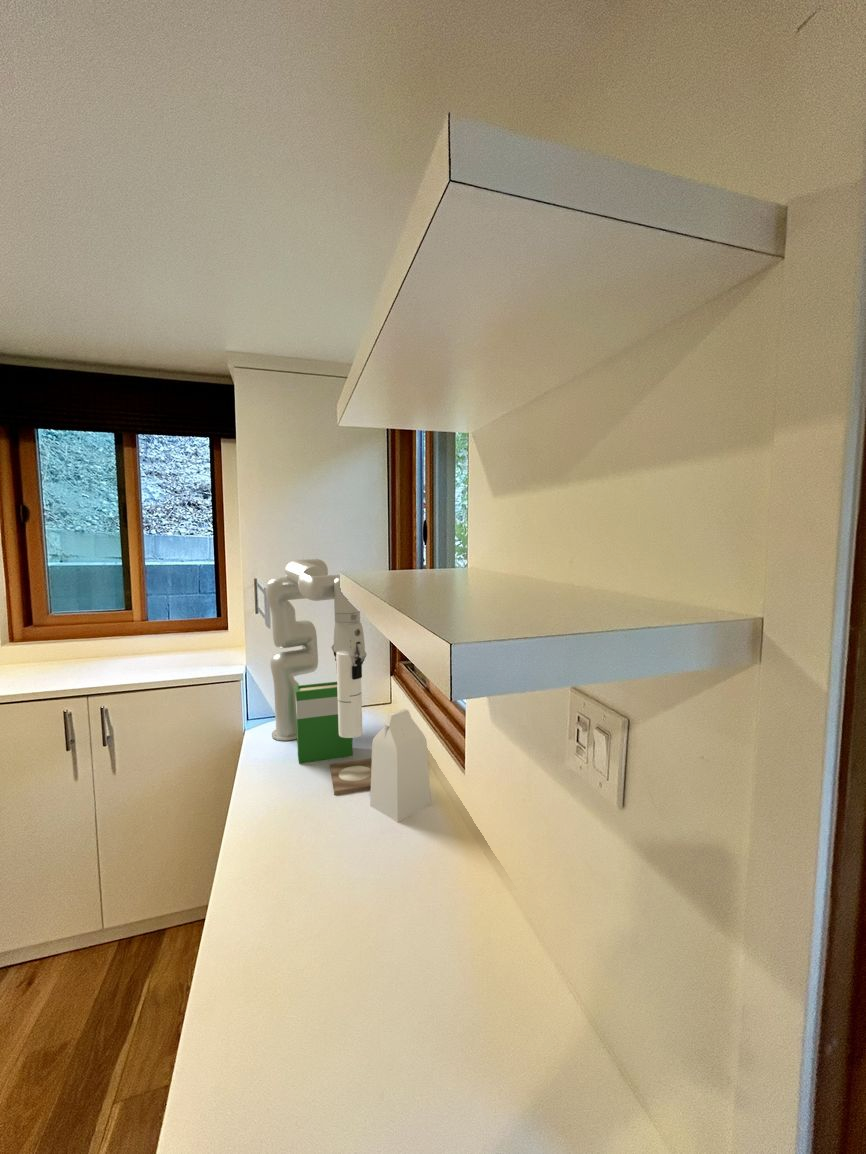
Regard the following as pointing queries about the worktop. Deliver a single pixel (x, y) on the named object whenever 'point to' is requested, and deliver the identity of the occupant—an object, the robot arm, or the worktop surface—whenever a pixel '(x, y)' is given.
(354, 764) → the walnut board
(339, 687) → the cylindrical container
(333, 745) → the hardback book
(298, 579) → the robot arm
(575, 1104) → the worktop surface
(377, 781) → the milk
